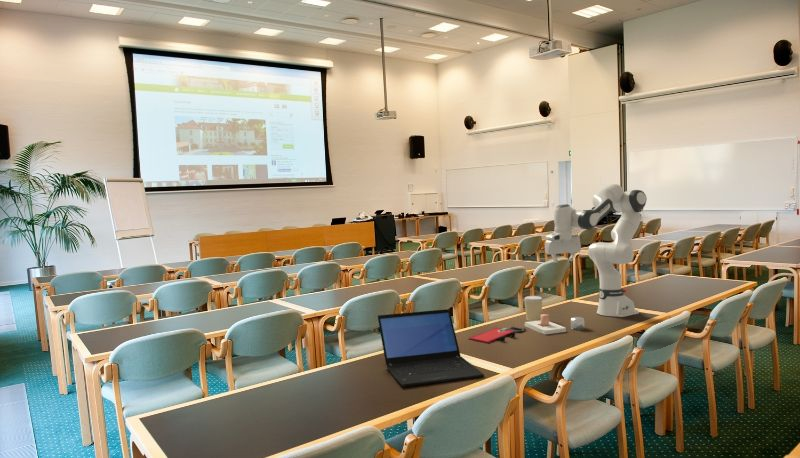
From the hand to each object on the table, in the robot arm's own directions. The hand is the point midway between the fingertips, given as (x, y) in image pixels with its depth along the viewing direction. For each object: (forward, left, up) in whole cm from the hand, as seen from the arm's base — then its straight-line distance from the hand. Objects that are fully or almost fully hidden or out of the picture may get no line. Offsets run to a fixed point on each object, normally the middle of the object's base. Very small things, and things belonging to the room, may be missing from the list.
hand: (563, 261), depth 288 cm
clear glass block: (+4, +17, -31) cm, 36 cm away
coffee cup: (+14, -7, -31) cm, 35 cm away
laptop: (+93, +41, -32) cm, 107 cm away
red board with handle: (+44, +11, -32) cm, 56 cm away
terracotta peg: (+19, +11, -31) cm, 38 cm away
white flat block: (+19, +11, -31) cm, 38 cm away
